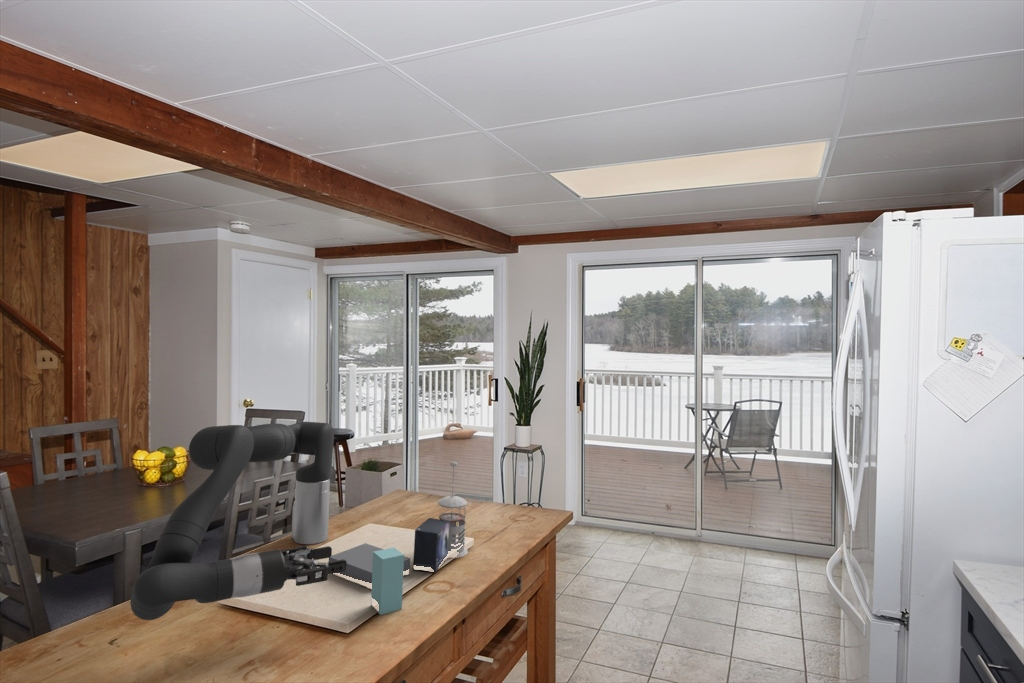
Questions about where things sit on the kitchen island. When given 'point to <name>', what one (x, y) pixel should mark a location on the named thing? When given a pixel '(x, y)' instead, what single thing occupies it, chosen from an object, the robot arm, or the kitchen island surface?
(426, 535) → the small box
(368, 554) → the grey flat block
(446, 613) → the kitchen island surface
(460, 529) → the french press
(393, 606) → the teal block
